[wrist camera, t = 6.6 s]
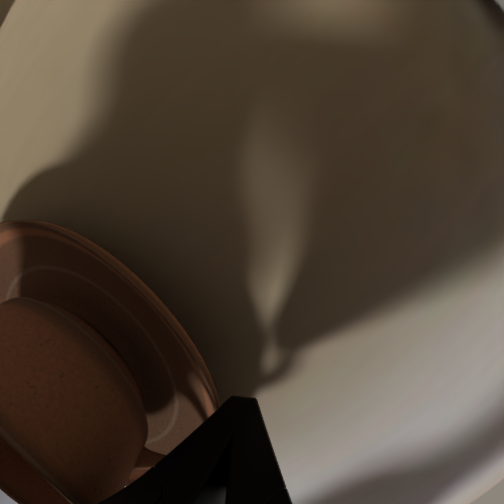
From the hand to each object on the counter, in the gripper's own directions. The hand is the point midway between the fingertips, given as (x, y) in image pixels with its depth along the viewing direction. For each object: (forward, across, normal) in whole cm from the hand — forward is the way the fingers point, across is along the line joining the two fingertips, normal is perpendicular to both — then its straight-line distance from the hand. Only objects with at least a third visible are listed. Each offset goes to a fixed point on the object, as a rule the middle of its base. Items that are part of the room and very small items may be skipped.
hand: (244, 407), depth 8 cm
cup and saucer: (+2, +7, +1) cm, 7 cm away
